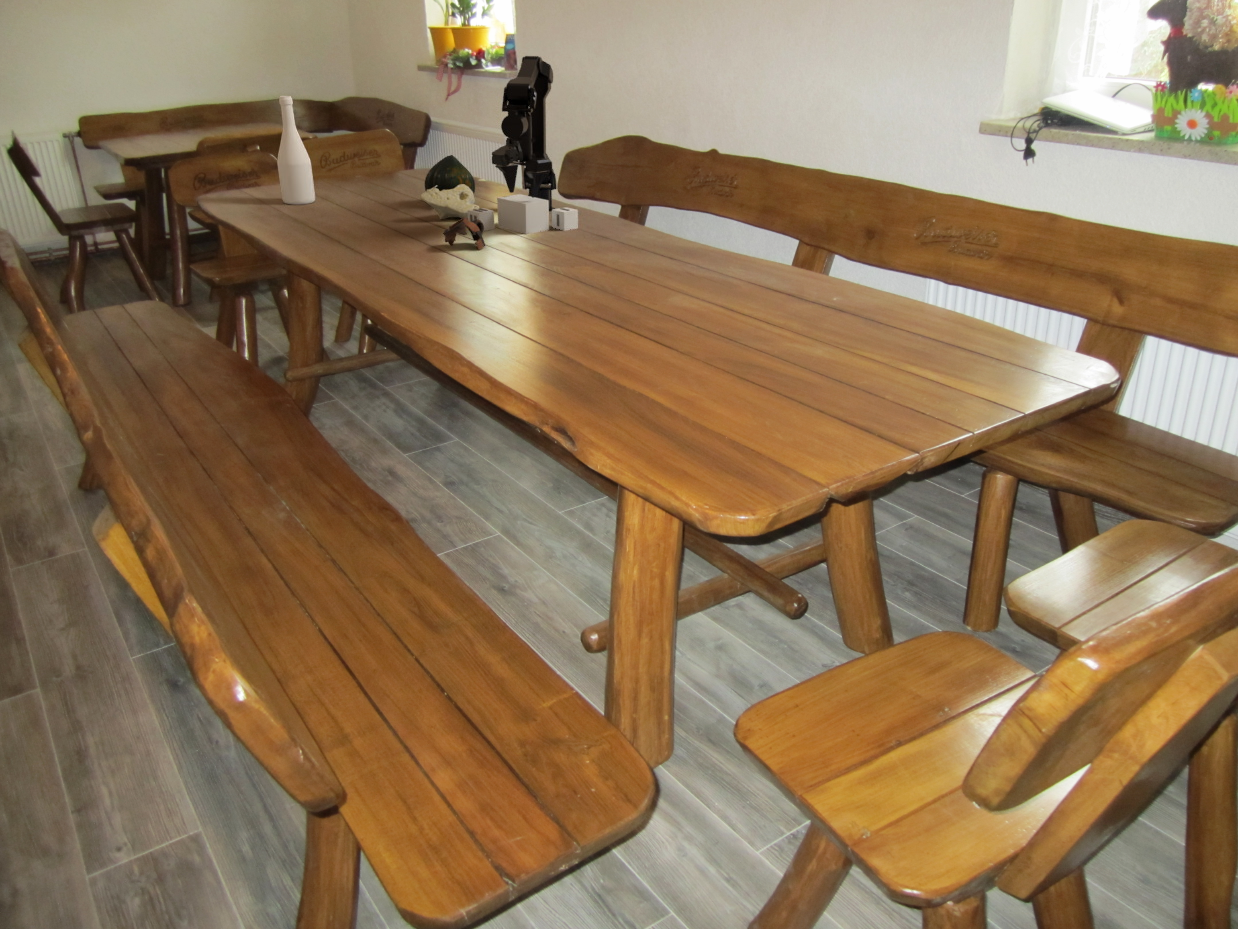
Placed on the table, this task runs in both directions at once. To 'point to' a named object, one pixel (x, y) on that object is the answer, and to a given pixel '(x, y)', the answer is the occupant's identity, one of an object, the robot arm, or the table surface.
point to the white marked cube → (482, 217)
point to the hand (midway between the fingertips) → (522, 194)
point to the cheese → (451, 201)
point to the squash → (449, 175)
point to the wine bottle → (293, 161)
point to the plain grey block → (523, 213)
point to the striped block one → (565, 218)
